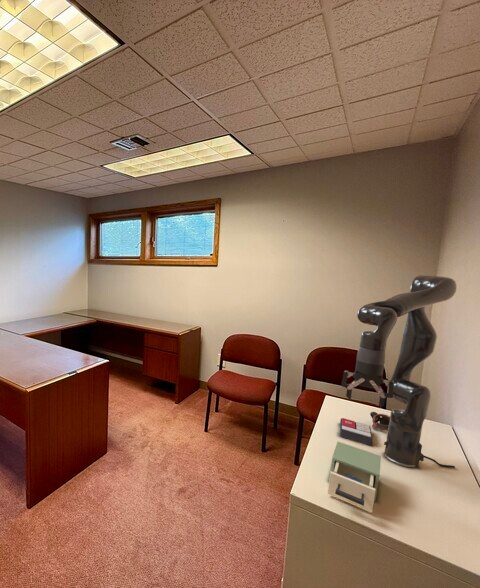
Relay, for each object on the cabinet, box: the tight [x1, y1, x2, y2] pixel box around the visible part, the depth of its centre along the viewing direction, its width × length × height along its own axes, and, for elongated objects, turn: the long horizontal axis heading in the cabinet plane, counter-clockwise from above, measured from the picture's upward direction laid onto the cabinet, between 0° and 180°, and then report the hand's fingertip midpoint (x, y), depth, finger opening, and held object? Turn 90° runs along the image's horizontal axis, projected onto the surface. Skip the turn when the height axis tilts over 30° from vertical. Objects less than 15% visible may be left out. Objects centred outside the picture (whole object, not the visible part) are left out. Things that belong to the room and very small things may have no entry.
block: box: [345, 474, 362, 483], centre depth 107 cm, size 4×4×4 cm
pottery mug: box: [369, 411, 390, 431], centre depth 154 cm, size 12×10×8 cm
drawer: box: [327, 462, 376, 514], centre depth 107 cm, size 19×11×8 cm, turn 136°
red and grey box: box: [339, 417, 373, 446], centre depth 147 cm, size 11×4×15 cm
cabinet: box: [328, 440, 382, 502], centre depth 115 cm, size 15×13×10 cm
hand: (364, 402), depth 117 cm, fingers open, 8 cm apart
